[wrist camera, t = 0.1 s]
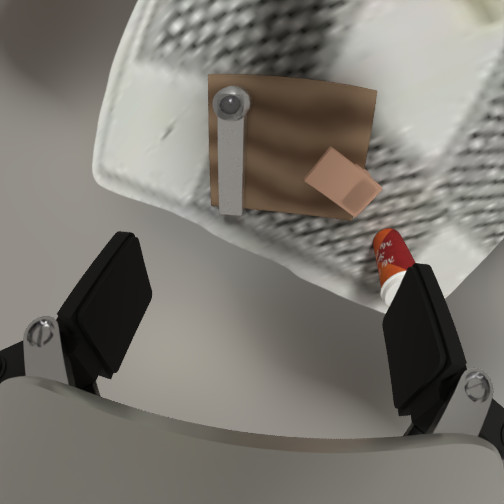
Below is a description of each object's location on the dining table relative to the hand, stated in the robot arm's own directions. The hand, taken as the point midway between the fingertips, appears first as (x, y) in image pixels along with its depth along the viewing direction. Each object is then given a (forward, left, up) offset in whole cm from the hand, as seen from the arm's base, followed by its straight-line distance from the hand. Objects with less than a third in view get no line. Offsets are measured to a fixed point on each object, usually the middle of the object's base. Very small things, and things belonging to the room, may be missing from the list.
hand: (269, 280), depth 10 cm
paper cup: (+22, +20, -37) cm, 47 cm away
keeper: (+9, +8, -37) cm, 39 cm away
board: (+7, 0, -37) cm, 37 cm away
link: (+7, -8, -35) cm, 37 cm away
